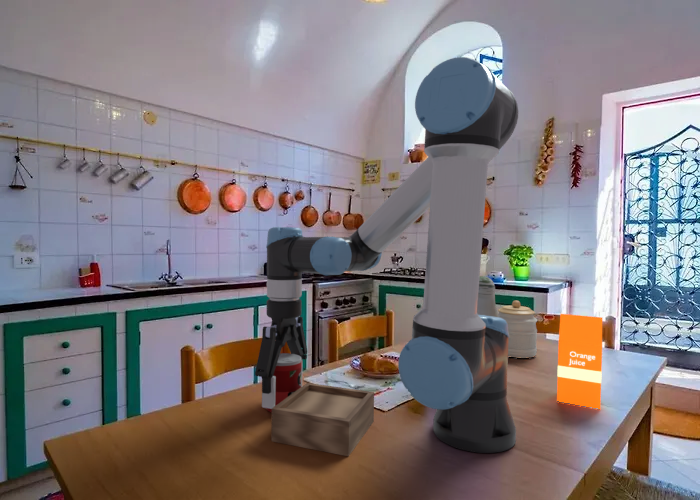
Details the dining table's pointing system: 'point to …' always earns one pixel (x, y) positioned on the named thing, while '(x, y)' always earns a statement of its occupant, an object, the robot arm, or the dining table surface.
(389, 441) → the dining table surface
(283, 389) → the canned food
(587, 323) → the orange juice
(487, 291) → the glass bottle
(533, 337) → the jar
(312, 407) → the box
